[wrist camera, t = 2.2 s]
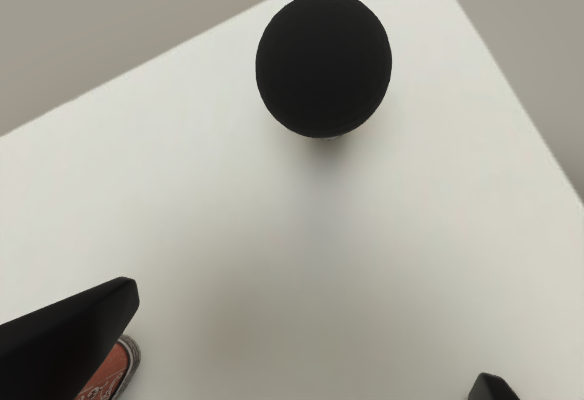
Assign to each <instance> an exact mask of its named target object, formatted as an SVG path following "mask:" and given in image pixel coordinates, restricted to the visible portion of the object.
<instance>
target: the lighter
mask: <svg viewBox="0 0 584 400" xmlns="http://www.w3.org/2000/svg"><path fill="white" fill-rule="evenodd" d="M139 362H140V351H139V348H138V346H137V344H136V343H135V341H134V340H133V339H131V338H130V337H128V336H125V335H121V336H120V338H119V339H118V341H117V342H116V344H115V346H114V347H113V349H112V350H111V352H110V353H109V355H108V356H107V358H106V359H105V361H104V362H103V363H102V365H101V366H100V367H99V369H98V370H97V371H96V373H95V374H94V375H93V376H92V378H91V379H90V380H89V382H88V383H87V384H86V386H85V387H84V388H83V389H82V391H81V392H80V393H79V395H78V396H77V397H76V399H75V400H117V399H118V398H119V397H120V395H121V394H122V392H123V391H124V390H125V388H126V387H127V385H128V383H129V381H130V380H131V378H132V376H133V374H134V372H135V370H136V369H137V367H138V365H139Z"/></svg>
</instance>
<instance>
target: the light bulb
mask: <svg viewBox="0 0 584 400" xmlns="http://www.w3.org/2000/svg"><path fill="white" fill-rule="evenodd" d="M391 70H392V54H391V48H390V45H389V41H388V37H387V34H386V31H385V29H384V27H383V25H382V24H381V22H380V21H379V19H378V18H377V16H376V15H375V14H374V13H373V12H372V11H371V10H370V9H369V8H368V7H366V6H365V5H364V4H363V3H362V2H361V1H359V0H294V1H292V2H290V3H289V4H287V5H285V6H284V7H283V8H282V9H281V10H280V11H279V12H278V13H277V14H276V15H275V16H274V17H273V18H272V20H271V21H270V23H269V24H268V26H267V27H266V28H265V31H264V33H263V35H262V37H261V40H260V42H259V46H258V50H257V54H256V81H257V86H258V89H259V92H260V95H261V97H262V99H263V101H264V103H265V105H266V107H267V109H268V110H269V112H270V113H271V114H272V115H273V116H274V118H275V119H276V120H278V121H279V122H280V123H281V124H282V125H284V126H285V127H286V128H288V129H289V130H291V131H293V132H295V133H297V134H300V135H303V136H306V137H312V138H321V139H323V140H333V139H337V138H339V137H340V136H342V135H343V134H345V133H348V132H350V131H352V130H354V129H356V128H357V127H359V126H360V125H362V124H363V123H364V122H365V121H366V120H367V119H369V117H370V116H371V115H372V114H373V113H374V112H375V110H376V109H377V108H378V106H379V105H380V103H381V102H382V100H383V98H384V96H385V93H386V90H387V87H388V85H389V82H390V76H391Z"/></svg>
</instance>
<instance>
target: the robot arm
mask: <svg viewBox="0 0 584 400" xmlns="http://www.w3.org/2000/svg"><path fill="white" fill-rule="evenodd" d="M139 302H140V301H139V295H138V289H137V284H136V281H135V280H133V279H130V278H127V277H118V278H115V279H113V280H110V281H108V282H105V283H103V284H100V285H98V286H95V287H93V288H91V289H88V290H86V291H83V292H81V293H78V294H76V295H73V296H71V297H68V298H66V299H63V300H61V301H59V302H56V303H54V304H51V305H49V306H46V307H44V308H41V309H39V310H36V311H34V312H31V313H29V314H26V315H24V316H22V317H19V318H17V319H14V320H12V321H9V322H7V323H4V324H2V325H0V400H75V399H76V397H77V396H78V395H79V393H80V392H81V391H82V389H83V388H84V387H85V386H86V384H87V383H88V382H89V380H90V379H91V378H92V376H93V375H94V374H95V373H96V371H97V370H98V369H99V367H100V366H101V365H102V363H103V362H104V361H105V359H106V358H107V356H108V355H109V353H110V352H111V350H112V349H113V347H114V346H115V344H116V342H117V341H118V339H119V338H120V336H121V335H122V333H123V331H124V330H125V328H126V327H127V325H128V324H129V322H130V320H131V319H132V317H133V316H134V314H135V313H136V311H137V309H138V307H139ZM468 400H520V399H519V398H518V396H517V395H516V394H515V393H514V391H513V390H512V389H511V388H510V387H509V385H508V384H507V383H506V382H505V380H503V379H502V378H501V377H499V376H496V375H492V374H488V373H480V374H479V376H478V377H477V379H476V381H475V383H474V385H473V387H472V389H471V391H470V393H469V397H468Z"/></svg>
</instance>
